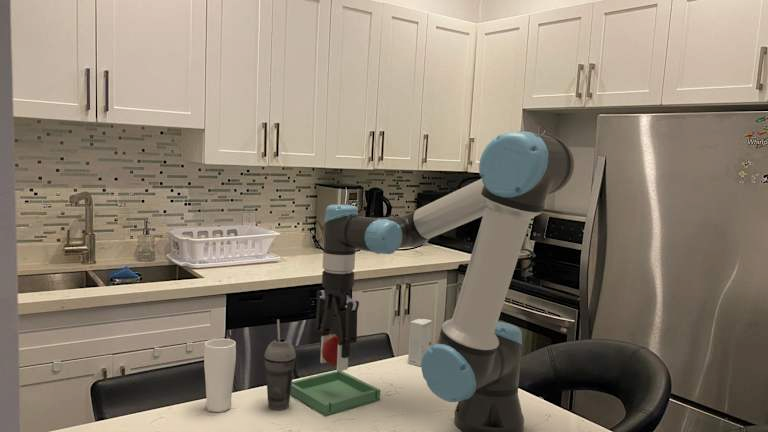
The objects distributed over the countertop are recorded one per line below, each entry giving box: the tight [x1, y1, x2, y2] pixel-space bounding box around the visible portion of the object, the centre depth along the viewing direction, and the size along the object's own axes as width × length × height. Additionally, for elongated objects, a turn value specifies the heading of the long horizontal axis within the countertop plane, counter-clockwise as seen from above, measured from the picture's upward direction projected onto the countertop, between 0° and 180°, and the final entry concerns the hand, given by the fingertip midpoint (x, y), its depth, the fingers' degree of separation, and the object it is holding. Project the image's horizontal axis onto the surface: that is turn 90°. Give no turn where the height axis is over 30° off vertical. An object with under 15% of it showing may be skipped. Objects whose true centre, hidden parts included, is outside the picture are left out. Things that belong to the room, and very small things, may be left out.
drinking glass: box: [203, 338, 237, 413], centre depth 134 cm, size 7×7×15 cm
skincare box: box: [407, 317, 433, 367], centre depth 172 cm, size 6×4×12 cm
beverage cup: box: [263, 319, 297, 412], centre depth 136 cm, size 7×7×20 cm
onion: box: [322, 333, 340, 368], centre depth 144 cm, size 6×6×8 cm
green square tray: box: [290, 370, 381, 417], centre depth 144 cm, size 16×16×2 cm
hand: (333, 365), depth 144 cm, fingers closed on onion, 6 cm apart
